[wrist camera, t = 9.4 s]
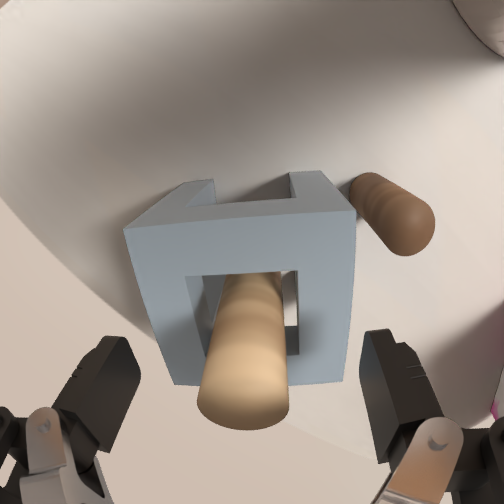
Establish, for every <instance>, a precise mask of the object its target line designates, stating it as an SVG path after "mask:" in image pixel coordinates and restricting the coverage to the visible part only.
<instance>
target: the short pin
mask: <svg viewBox="0 0 504 504" xmlns="http://www.w3.org/2000/svg"><path fill="white" fill-rule="evenodd" d="M349 197H350V201H351V204H352V205H353V207H354V208H355V209H356V210H357V212H358V213H359V214H360V215H361V216H362V217H363V218H364V220H365V221H366V222H367V223H368V224H369V226H370V227H371V228H372V229H373V230H374V232H375V233H376V234H377V235H378V236H379V238H380V239H381V240H382V241H383V243H384V244H385V245H386V246H387V247H388V249H389V250H390V251H391V252H393V253H394V254H396V255H399V256H411V255H414V254H417V253H418V252H420V251H421V250H423V249H424V248H425V247H426V246H427V245H428V243H429V242H430V240H431V238H432V236H433V233H434V230H435V217H434V214H433V211H432V209H431V208H430V206H429V205H428V204H427V203H425V202H424V201H422V200H421V199H419V198H418V197H416V196H414V195H413V194H411V193H409V192H408V191H406V190H404V189H403V188H401V187H399V186H398V185H396V184H394V183H393V182H391V181H389V180H387V179H385V178H384V177H382V176H380V175H378V174H376V173H364V174H361V175H360V176H358V177H357V178H356V179H355V180H354V181H353V183H352V185H351V187H350V191H349Z"/></svg>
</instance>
